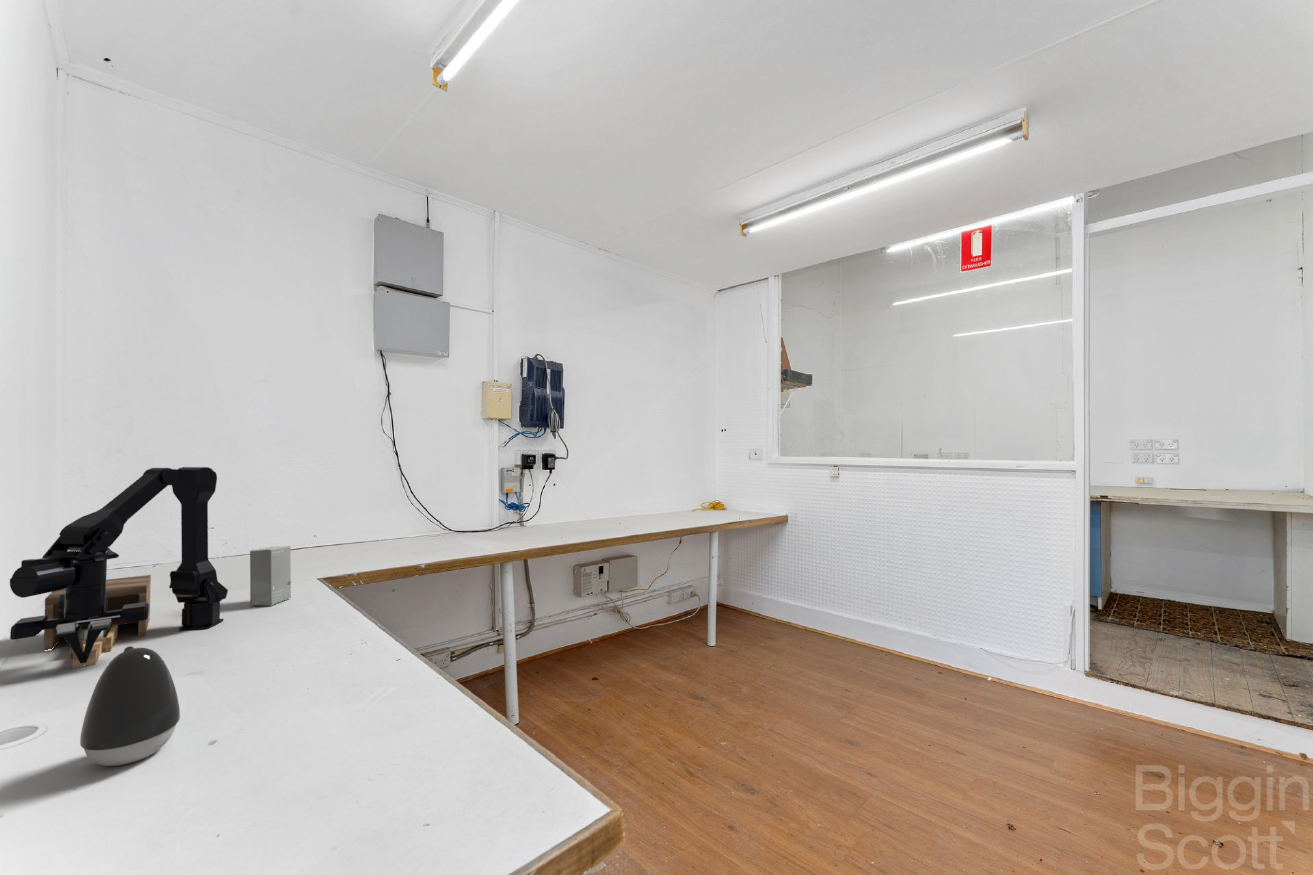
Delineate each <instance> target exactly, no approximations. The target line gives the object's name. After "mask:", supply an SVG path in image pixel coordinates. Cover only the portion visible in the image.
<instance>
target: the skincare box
mask: <svg viewBox="0 0 1313 875" xmlns="http://www.w3.org/2000/svg"><path fill="white" fill-rule="evenodd" d="M249 556H250V557H249V573H250V574H249V576H250V577H249V578H250V580H249V581H250V582H249V586H250V588H249V590H250V592H249V594H250V596H249V597H250V599H249V602H250V604H249V605H250V606H255V607H256V606H264V607H265V606H269V607H272V605H273V606H274V604H275V605H277V604H279V603H278V602H280V603H283V602H285V601H287V600H290V599H291V598H292V596H291V595H292V589H291V588H292V586H291V583H292V582H291V581H292V578H291V572H292V571H291V563H292V562H291V545H283V546H279V545H278V546H268V547H261V548H257V549H251V550H250V551H249ZM289 598H290V599H289ZM284 600H285V601H284ZM282 601H283V602H282Z"/></svg>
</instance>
